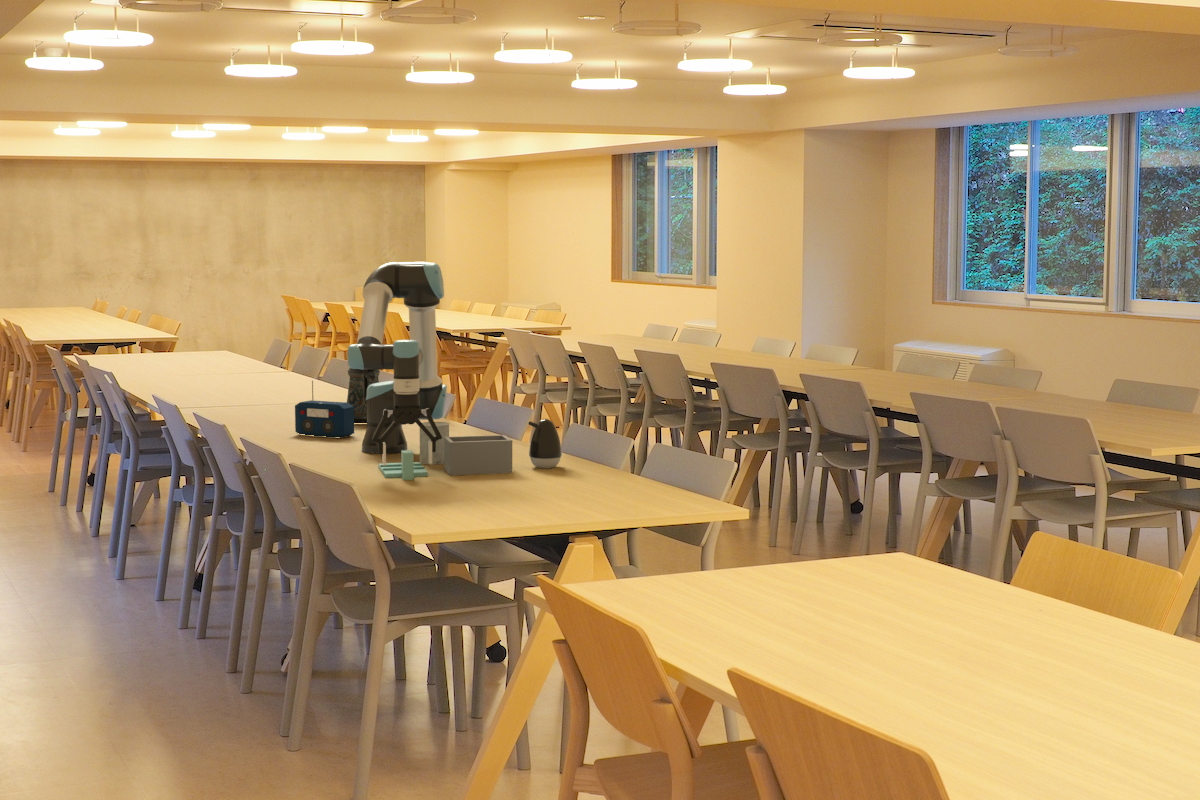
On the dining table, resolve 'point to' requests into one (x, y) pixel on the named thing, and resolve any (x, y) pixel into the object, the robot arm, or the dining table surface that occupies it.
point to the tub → (477, 455)
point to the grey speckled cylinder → (439, 453)
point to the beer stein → (360, 391)
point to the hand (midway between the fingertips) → (407, 464)
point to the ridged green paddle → (404, 467)
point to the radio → (324, 418)
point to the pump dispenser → (545, 445)
